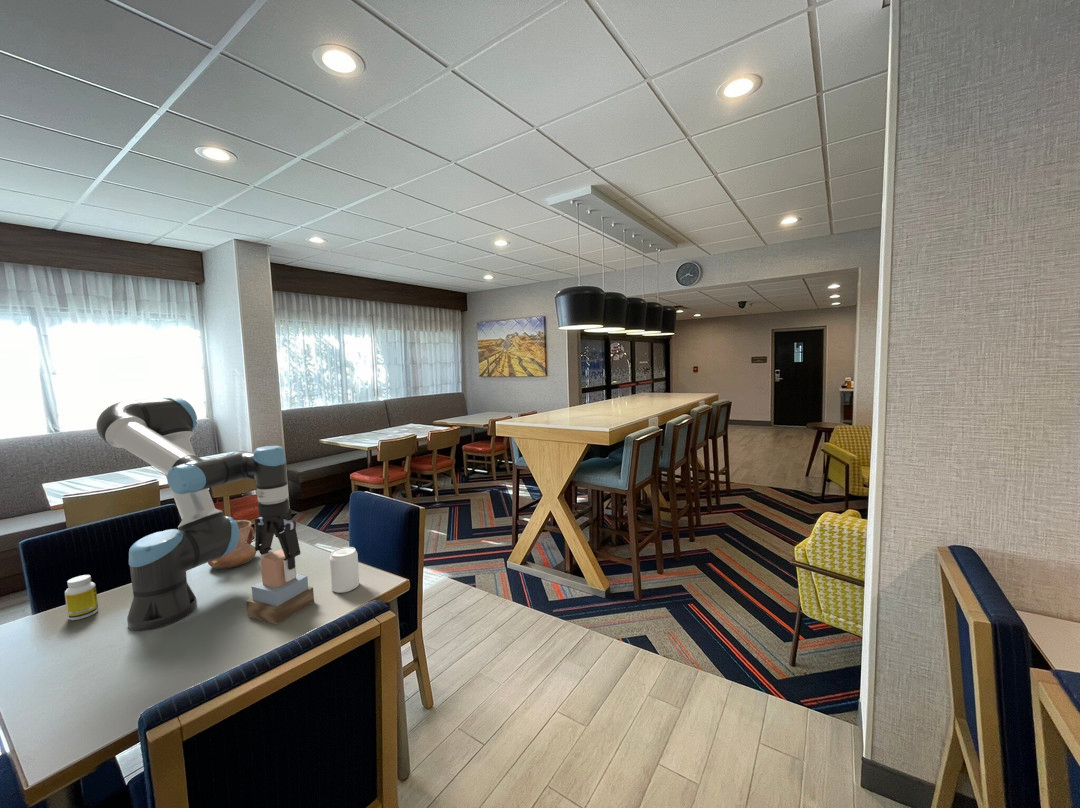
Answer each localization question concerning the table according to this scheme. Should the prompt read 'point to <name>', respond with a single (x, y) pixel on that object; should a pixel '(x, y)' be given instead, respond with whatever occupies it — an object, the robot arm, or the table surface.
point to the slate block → (279, 591)
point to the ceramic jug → (238, 548)
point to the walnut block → (279, 607)
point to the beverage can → (344, 569)
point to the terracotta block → (274, 569)
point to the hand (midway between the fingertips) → (279, 576)
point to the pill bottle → (81, 598)
